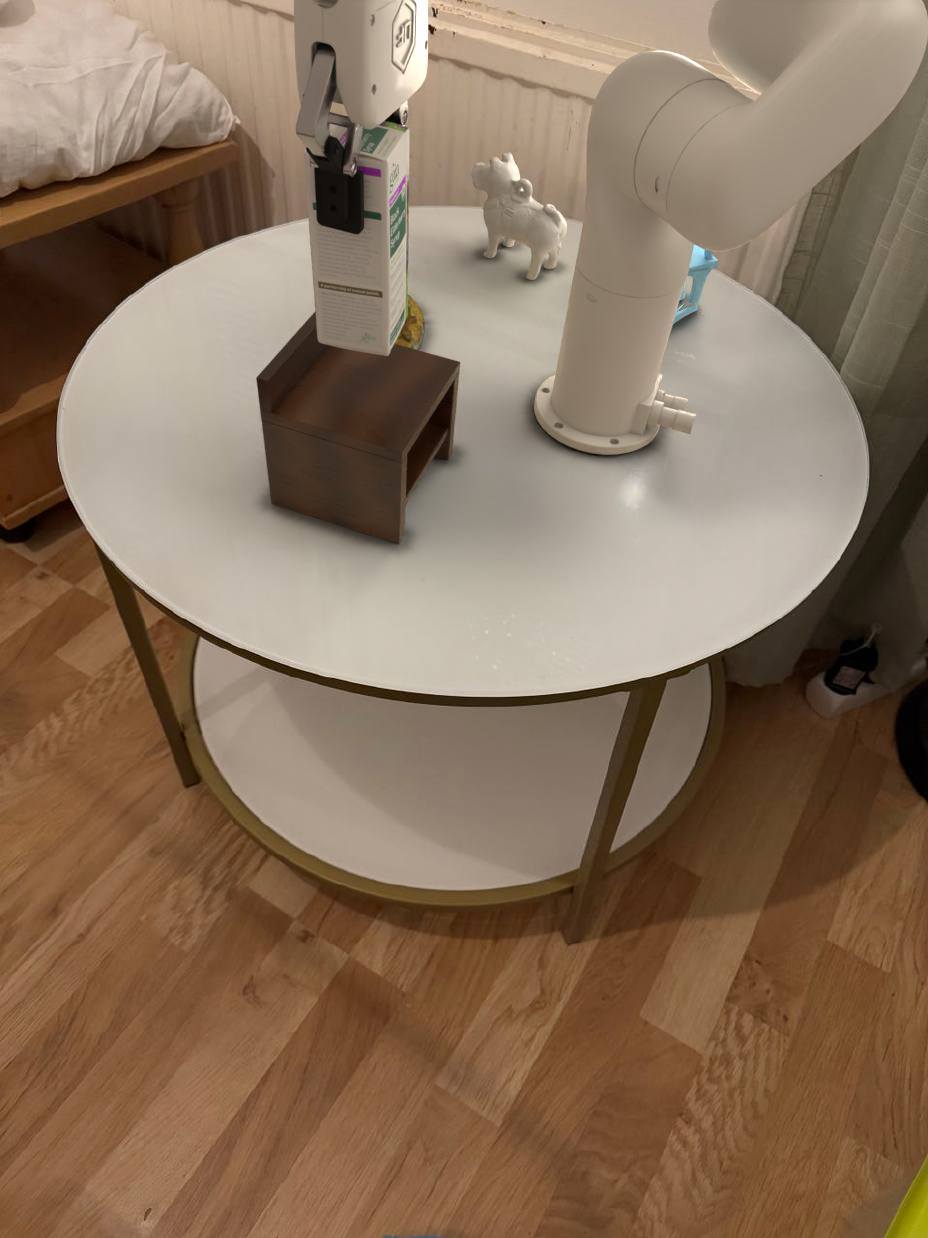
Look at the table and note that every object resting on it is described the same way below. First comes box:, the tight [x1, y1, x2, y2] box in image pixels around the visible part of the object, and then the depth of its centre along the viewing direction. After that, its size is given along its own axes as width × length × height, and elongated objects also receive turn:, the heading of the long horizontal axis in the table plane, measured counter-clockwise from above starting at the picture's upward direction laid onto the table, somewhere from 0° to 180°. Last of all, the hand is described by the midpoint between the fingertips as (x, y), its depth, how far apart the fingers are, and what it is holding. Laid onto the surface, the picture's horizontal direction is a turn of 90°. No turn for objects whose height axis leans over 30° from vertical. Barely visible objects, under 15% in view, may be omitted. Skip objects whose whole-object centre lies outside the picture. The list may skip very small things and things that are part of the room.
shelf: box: [255, 311, 461, 545], centre depth 76 cm, size 12×13×13 cm
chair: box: [673, 245, 720, 325], centre depth 98 cm, size 8×8×12 cm
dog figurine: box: [471, 152, 568, 281], centre depth 104 cm, size 5×13×11 cm, turn 50°
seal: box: [395, 294, 426, 350], centre depth 95 cm, size 9×5×15 cm
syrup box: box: [303, 121, 411, 356], centre depth 64 cm, size 6×6×14 cm
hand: (362, 203), depth 62 cm, fingers closed on syrup box, 6 cm apart
